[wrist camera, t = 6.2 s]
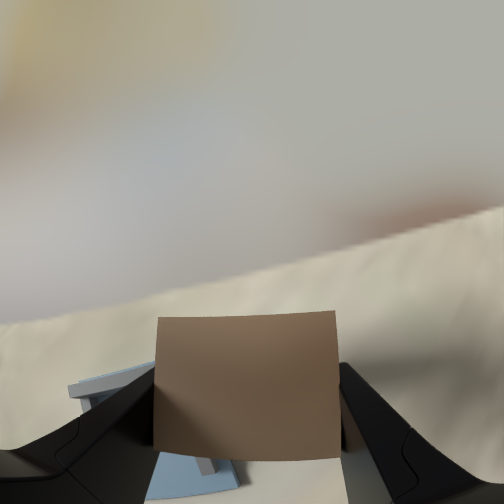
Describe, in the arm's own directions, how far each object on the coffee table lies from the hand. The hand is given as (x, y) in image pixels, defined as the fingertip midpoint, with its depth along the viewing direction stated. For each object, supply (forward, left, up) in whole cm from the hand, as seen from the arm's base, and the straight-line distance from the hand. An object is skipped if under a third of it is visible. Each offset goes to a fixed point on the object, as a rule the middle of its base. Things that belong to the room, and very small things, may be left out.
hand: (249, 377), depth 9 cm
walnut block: (0, 0, -7) cm, 7 cm away
